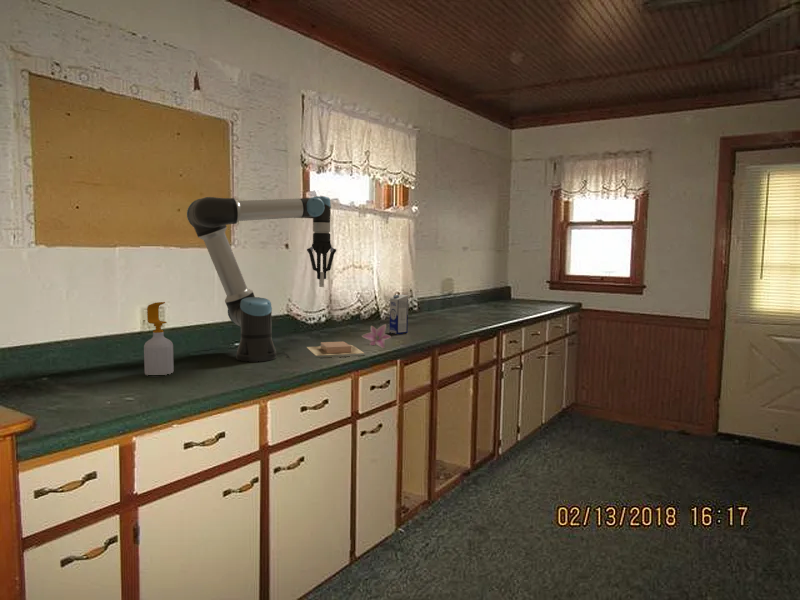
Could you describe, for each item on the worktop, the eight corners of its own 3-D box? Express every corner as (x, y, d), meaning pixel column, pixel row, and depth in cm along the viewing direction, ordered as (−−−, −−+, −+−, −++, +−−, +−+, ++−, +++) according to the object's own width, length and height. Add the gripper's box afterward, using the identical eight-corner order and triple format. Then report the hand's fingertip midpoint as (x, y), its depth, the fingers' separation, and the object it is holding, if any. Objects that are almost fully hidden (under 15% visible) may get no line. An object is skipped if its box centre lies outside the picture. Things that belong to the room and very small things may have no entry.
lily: (358, 348, 250) (359, 331, 244) (374, 335, 258) (374, 318, 253) (380, 359, 245) (381, 342, 239) (395, 345, 253) (396, 329, 248)
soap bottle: (155, 377, 184) (153, 303, 182) (139, 374, 189) (137, 302, 187) (179, 372, 192) (177, 301, 190) (162, 369, 197) (161, 300, 195)
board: (315, 358, 220) (315, 355, 220) (306, 349, 239) (306, 347, 239) (364, 356, 227) (364, 353, 227) (351, 347, 246) (351, 344, 245)
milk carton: (407, 333, 288) (408, 295, 286) (396, 334, 284) (397, 295, 282) (400, 331, 294) (400, 294, 292) (389, 332, 290) (389, 294, 288)
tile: (320, 348, 235) (326, 353, 224) (320, 342, 235) (326, 347, 224) (343, 347, 239) (351, 352, 227) (343, 341, 238) (351, 346, 227)
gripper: (334, 233, 249) (334, 286, 251) (305, 232, 245) (305, 286, 247) (338, 232, 242) (338, 287, 244) (308, 232, 238) (308, 287, 240)
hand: (321, 286), depth 246 cm, fingers closed
